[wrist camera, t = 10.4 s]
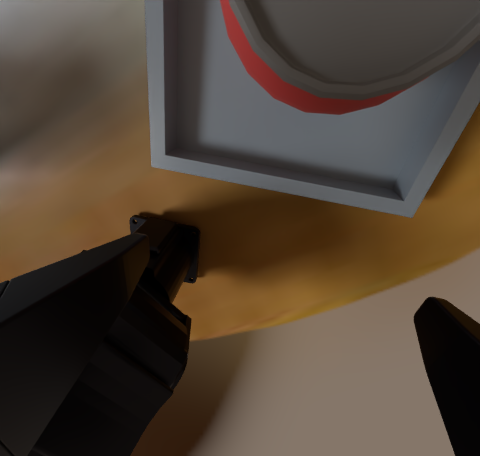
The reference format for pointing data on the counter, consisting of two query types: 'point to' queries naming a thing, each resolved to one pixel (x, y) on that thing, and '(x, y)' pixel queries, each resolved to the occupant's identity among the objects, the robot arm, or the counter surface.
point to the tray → (293, 121)
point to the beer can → (347, 47)
